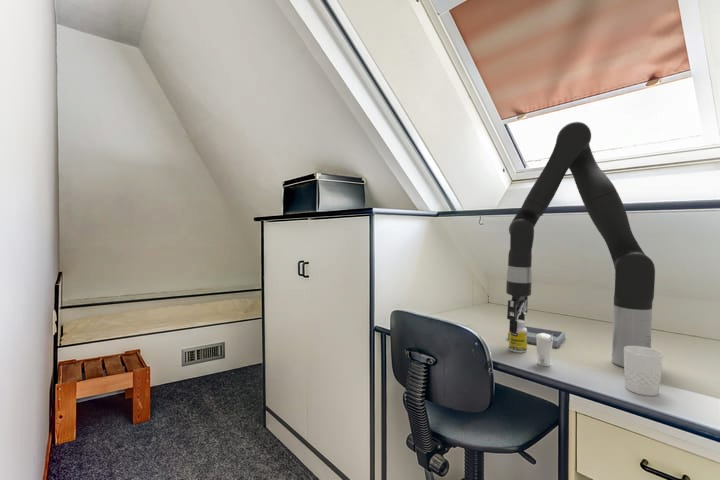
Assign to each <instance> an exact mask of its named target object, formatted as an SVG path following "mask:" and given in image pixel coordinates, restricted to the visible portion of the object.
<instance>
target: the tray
mask: <svg viewBox="0 0 720 480" xmlns="http://www.w3.org/2000/svg"><path fill="white" fill-rule="evenodd" d="M524 327H525V328H526V329H527V344H530V345H535V346H537V344H536V335H537V334H539V333H546V334H549V335H551V334H553V335H552V337H553V343H552V349H559V348H560V346H561V344H562V343H564V341H565V340H566V331H561V330H555V329H548V328H543V327H542V328H541V327H535V326H529V325H525V326H524ZM507 340H508V341H509V332H508V333H507Z"/></svg>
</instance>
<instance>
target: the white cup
mask: <svg viewBox="0 0 720 480" xmlns="http://www.w3.org/2000/svg"><path fill="white" fill-rule="evenodd" d="M663 358H664V353H663V352H662V351H660V350H658V349H655V348H652V347H651V348H647V347H641V346H625V347H624V367H623V371H624V373H623V374H624V386H625V388H626V390H628V391H629V392H632V393H634V394H638V395H641V396H647V397H649V396H650V397H654V396H658V395H659V393H660V384H661V378H662V369H663Z"/></svg>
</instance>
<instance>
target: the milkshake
mask: <svg viewBox="0 0 720 480" xmlns="http://www.w3.org/2000/svg"><path fill="white" fill-rule="evenodd" d="M552 335H553V334H551V335H549V334H546V333H539V334H537V335H536V344H537V345H536V353H537V357H536V359H537V365H539V366H541V367H542V366H543V367H550V366H551V357H552V349H553V348H552V343H553V337H552Z"/></svg>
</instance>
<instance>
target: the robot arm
mask: <svg viewBox="0 0 720 480" xmlns="http://www.w3.org/2000/svg"><path fill="white" fill-rule="evenodd" d="M591 139H592V132H591V129H590V127H589V126H588V125H587V124H586V123H584V122H582V121H573V122H569V123H567V124H566V125H564V126H563V127H562V128H561V129H560V130H559V131H558V134H557V137H556V140H555V141H556V142H555V145H554V147H553V150H552V152H551V155H550V157H549V159H548V160H547V162H546V165H545V166H544V168H543V169H542V171H541V173H540V174H539V175H538V178H537V179H536V180H535V182H534V184H533V186H532V187H531V189H530V191H529V192H528V193H527V196H526V198H524V202H523V203H522V206H521V208H520V209H519V210H518V211H517V213H516V215H515V216H514V218H513V219H512V221H511V223H510V225H509V227H508V233H509V235H510V237H509V238H510V239H509V241H510V242H509V243H510V245H509V246H510V248H509V251H508V255H507V257H508V260H507V270H506V286H505V287H506V290H505V291H506V292H505V293H506V294H507V295H510V296H511V300H510V299H509V300H508V301H507V314H506V318H507V320H508V321H509V331H510V332H513V333H516V332H517V321H518V320H523V321H526V320H525V319H526V316H527V313H528V302H529V301H528V299H529V297H530V296H531V295H532V283H533V281H532V280H533V278H532V277H533V273H532V262H533V261H532V259H533V257H532V256H533V255H532V250H533V245H534V237H535V226H536V224H538V223H537V222H538V221H539V219H540V218H541V217H542V216H543V214H544V213H545V212H546V211H547V209H548V207H549V205H550V204H551V202H552V201H553V199H554V197H555V195H556V193H557V191H558V190H559V188H560V185H561V183H562V182H563V179H564V177H565V176H566V173H567V172H568V170H570V172H571V175H572V177H573V179H574V183H575V185H576V189H577V191H578V193H579V196H580V199H581V201H582V202H583V205H584V208H585V210H586V212H587V214H588V217H590V220H591V221H592V223H593V225H594V226H595V228H596V229H597V231H598V232H599V233H600V235H601V236H602V238H603V240H604V242H605V244H606V246H607V249H608V251H609V253H610V254H609V255H610V257H611V260H612V263H613V266H614V270H615V272H614V295H613V314H612V315H613V316H612V345H611V346H612V347H611V350H612V351H611V352H612V353H611V361H612V363H613V364H615V365H616V366H619V367H621V368H624V347H625V346H641V347H647V348H652V321H653V317H652V315H653V302H654V297H655V283H656V282H655V281H656V268H655V263H654V261H653V260H652V259H651V257H649V256H647V255H646V254H645V252H644V251H643V249H642V247H641V246H640V245H639V242H638V241H637V239H636V238H635V235H634V234H633V232H632V228H631V225H630V221H629V217H628V214H627V212H626V209H625V206H624V203H623V201H622V199H621V196H620V195H619V192H618V191H617V189H616V187H615V185H614V183H613V182H612V181H611V179H610V178H609V177H608V176H607V174H606V173H605V172H604V171H603V170H602V169H601V168H600V166H599V165H598V164H597V162H596V159H595V157H594V154H593V151H592V149H591V145H590V142H591ZM509 331H508V332H509Z"/></svg>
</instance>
